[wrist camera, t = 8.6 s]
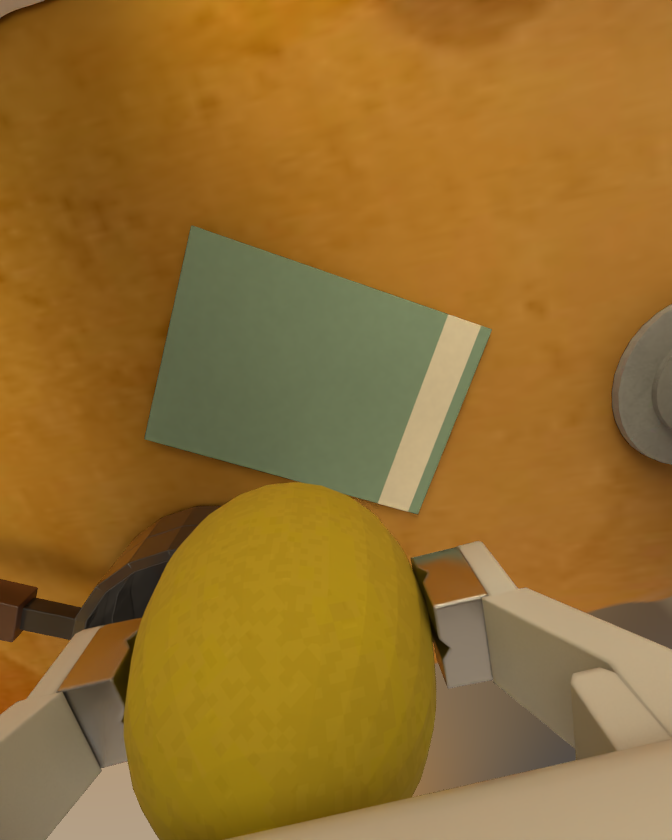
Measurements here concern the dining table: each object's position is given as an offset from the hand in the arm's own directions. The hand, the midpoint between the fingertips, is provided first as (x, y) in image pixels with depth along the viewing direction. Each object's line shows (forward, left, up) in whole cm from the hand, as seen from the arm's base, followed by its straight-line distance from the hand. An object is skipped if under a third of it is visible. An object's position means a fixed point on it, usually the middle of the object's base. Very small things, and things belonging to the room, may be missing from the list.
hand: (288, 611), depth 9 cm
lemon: (0, 0, -4) cm, 4 cm away
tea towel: (0, +2, -20) cm, 20 cm away
